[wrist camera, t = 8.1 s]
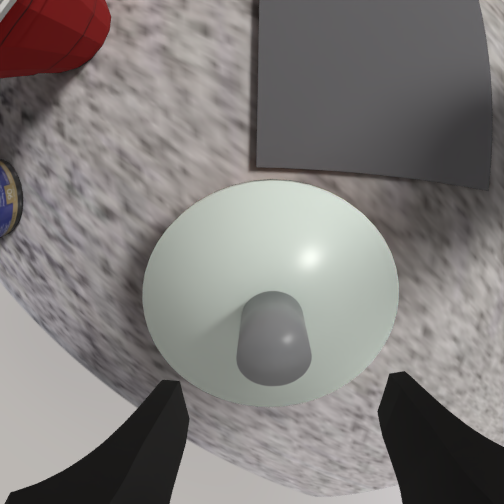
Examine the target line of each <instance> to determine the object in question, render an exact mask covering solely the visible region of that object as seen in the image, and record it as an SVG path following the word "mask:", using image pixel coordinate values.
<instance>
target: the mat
mask: <svg viewBox="0 0 504 504" xmlns="http://www.w3.org/2000/svg"><path fill="white" fill-rule="evenodd" d="M491 154H492V89H491V75H490V64H489V55H488V48H487V41H486V34H485V29H484V23H483V18H482V13H481V9H480V4H479V0H259V49H258V105H257V158H256V167H267V168H294V169H313V170H328V171H342V172H354V173H365V174H375V175H385V176H394V177H402V178H410V179H418V180H425V181H432V182H439V183H446V184H452V185H458V186H464V187H470V188H475V189H481V190H486V191H488V188H489V179H490V168H491Z"/></svg>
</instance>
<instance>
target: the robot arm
mask: <svg viewBox="0 0 504 504" xmlns="http://www.w3.org/2000/svg"><path fill="white" fill-rule="evenodd" d="M377 412H378V417H379V422H380V427H381V431H382V436H383V439H384V442H385V445H386V448H387V451H388V454H389V456H390V459H391V462H392V465H393V468H394V471H395V474H396V477H397V480H398V484H399V487H400V491H401V497H402V503H403V504H504V447H503V446H501V445H499V444H497V443H495V442H493V441H491V440H489V439H488V438H486V437H484V436H483V435H481V434H480V433H478V432H476V431H475V430H473V429H472V428H470V427H469V426H468V425H466V424H465V423H464V422H462V421H461V420H460V419H458V418H457V417H456V416H454V415H453V414H452V413H451V412H450V411H448V410H447V409H446V408H445V407H444V406H443V405H441V404H440V403H439V402H438V401H437V400H436V399H435V398H434V397H432V396H431V395H430V394H429V393H428V392H427V391H426V390H425V389H424V388H423V387H422V386H420V385H419V384H418V383H417V382H416V381H415V380H414V379H413V378H412V377H411V376H410V375H409V374H407V373H406V372H405V371H404V372H397V373H391V374H389V377H388V381H387V384H386V387H385V390H384V394H383V397H382V400H381V403H380V406H379V409H378V411H377ZM188 425H189V415H188V412H187V408H186V404H185V401H184V397H183V393H182V389H181V385H180V381H170V380H162V381H161V382H160V383H159V384H158V385H157V387H156V388H155V389H154V390H153V391H152V393H151V394H150V395H149V396H148V397H147V398H146V400H145V401H144V402H143V403H142V404H141V405H140V406H139V407H138V409H137V410H136V411H135V412H134V413H133V414H132V415H131V416H130V417H129V418H128V420H127V421H125V423H124V424H122V425H121V427H119V428H118V429H117V430H116V431H115V432H114V433H113V434H112V435H111V436H110V437H109V438H108V439H107V440H105V441H104V442H103V443H102V444H101V445H100V446H99V447H97V448H96V449H95V450H94V451H92V452H91V453H89V454H88V455H87V456H85V457H84V458H82V459H81V460H79V461H78V462H77V463H75V464H73V465H72V466H70V467H69V468H67V469H65V470H64V471H62V472H60V473H58V474H56V475H54V476H52V477H50V478H48V479H46V480H44V481H42V482H39V483H37V484H35V485H32V486H29V487H26V488H23V489H20V490H17V491H14V492H11V493H10V495H9V496H8V498H7V500H6V502H5V504H169V503H170V499H171V494H172V490H173V487H174V483H175V480H176V476H177V472H178V469H179V466H180V462H181V459H182V455H183V451H184V448H185V444H186V439H187V432H188Z"/></svg>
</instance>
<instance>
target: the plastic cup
mask: <svg viewBox="0 0 504 504" xmlns="http://www.w3.org/2000/svg"><path fill="white" fill-rule="evenodd" d="M110 22H111V15H110V12H109V9H108V7H107V4H106V1H105V0H0V78H7V77H17V76H29V75H35V74H38V73H61V72H64V71H68V70H72V69H75V68H78V67H80V66H81V65H83V64H84V63H85V62H87V61H88V60H90V59H91V58H92V57H93V56H94V55H95V53H96V52H97V51H98V50H99V49H100V48H101V46H102V45H103V43H104V41H105V39H106V37H107V35H108V32H109V30H110Z"/></svg>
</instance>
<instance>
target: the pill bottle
mask: <svg viewBox="0 0 504 504" xmlns="http://www.w3.org/2000/svg"><path fill="white" fill-rule="evenodd" d="M22 207H23V193H22V187H21V183H20V180H19V177H18V175H17V173H16V172H15V170H14V168H13V167H12V166H11V165H10V164H9V163H8V162H7V161H5V160H0V237H2V236H4V235H6V234H9V233H10V232H11V231H12V230H13V229H14V228H15V227H16V226H17V224H18V222H19V220H20V217H21V213H22Z"/></svg>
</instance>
